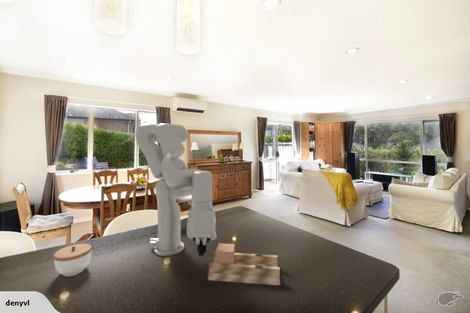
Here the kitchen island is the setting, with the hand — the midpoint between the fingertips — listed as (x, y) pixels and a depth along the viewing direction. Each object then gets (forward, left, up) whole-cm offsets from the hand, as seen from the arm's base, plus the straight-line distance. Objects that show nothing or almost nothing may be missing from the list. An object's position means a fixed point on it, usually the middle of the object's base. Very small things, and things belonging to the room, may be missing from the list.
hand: (202, 254), depth 76 cm
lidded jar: (-45, -7, -6) cm, 46 cm away
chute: (+16, 0, -6) cm, 17 cm away
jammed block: (+9, 0, -4) cm, 10 cm away
